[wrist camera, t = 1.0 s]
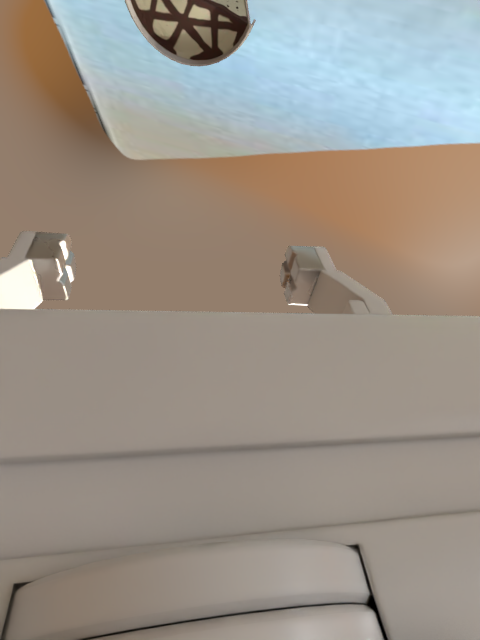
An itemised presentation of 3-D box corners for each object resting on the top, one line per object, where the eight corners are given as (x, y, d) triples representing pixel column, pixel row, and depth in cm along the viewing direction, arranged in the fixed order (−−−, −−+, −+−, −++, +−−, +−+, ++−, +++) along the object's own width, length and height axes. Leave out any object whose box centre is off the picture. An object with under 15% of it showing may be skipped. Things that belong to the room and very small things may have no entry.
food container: (123, -15, 38) (104, 33, 33) (134, -93, 33) (114, -51, 28) (231, 44, 42) (228, 94, 38) (255, -17, 38) (255, 31, 33)
